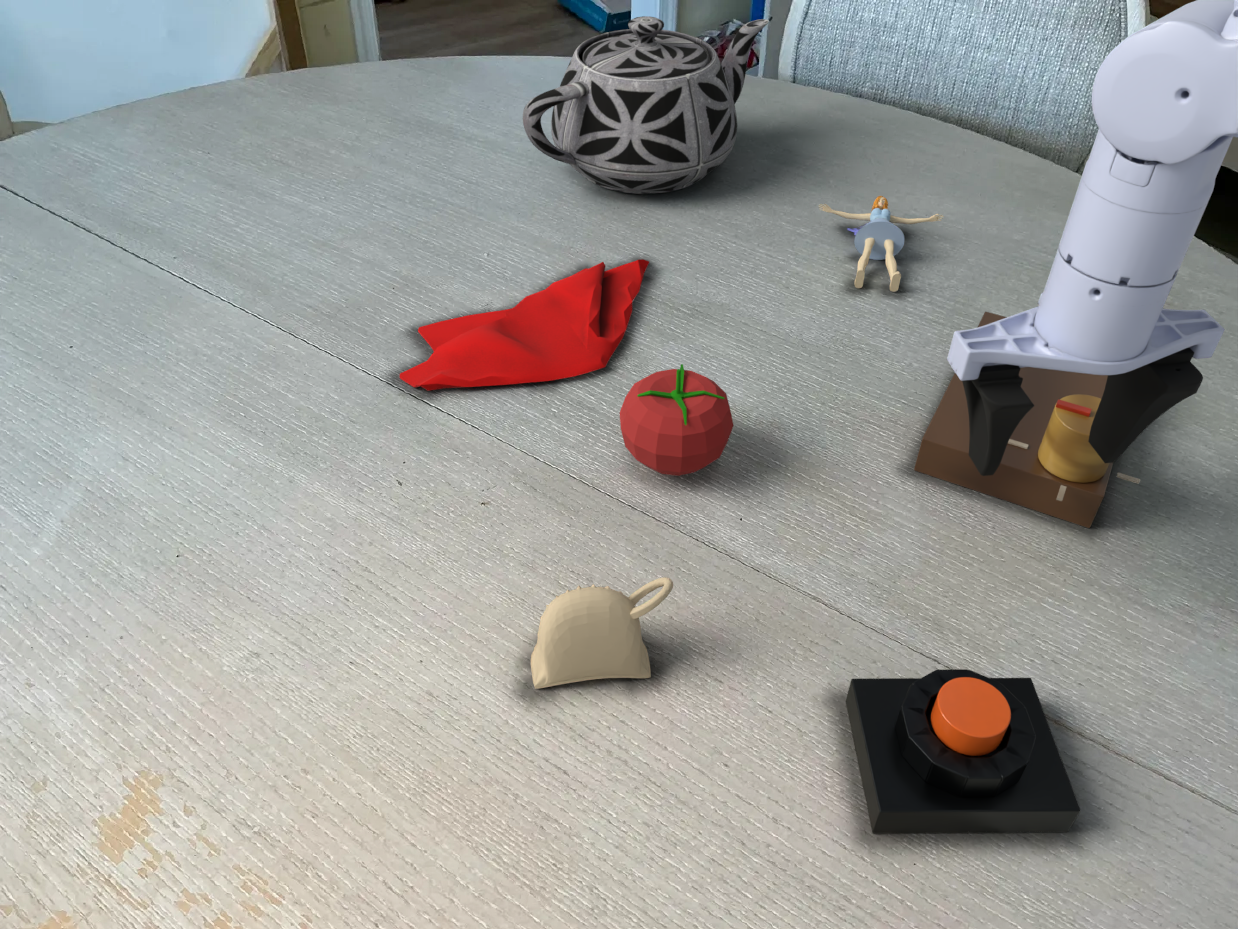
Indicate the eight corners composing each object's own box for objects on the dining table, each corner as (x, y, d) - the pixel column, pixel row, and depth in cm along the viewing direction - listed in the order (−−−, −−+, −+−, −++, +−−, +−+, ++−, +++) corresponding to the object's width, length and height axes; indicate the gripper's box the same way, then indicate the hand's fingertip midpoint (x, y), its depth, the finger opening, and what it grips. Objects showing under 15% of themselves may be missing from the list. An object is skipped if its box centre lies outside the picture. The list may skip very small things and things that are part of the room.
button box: (1020, 700, 57) (1040, 657, 55) (1068, 833, 51) (1093, 791, 49) (845, 701, 57) (856, 658, 55) (872, 834, 51) (886, 793, 49)
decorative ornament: (529, 633, 61) (524, 574, 57) (667, 623, 61) (670, 564, 58) (531, 689, 58) (526, 630, 54) (676, 678, 58) (680, 619, 55)
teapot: (817, 157, 109) (838, 12, 99) (586, 244, 95) (582, 85, 85) (701, 100, 120) (710, -36, 110) (480, 170, 106) (466, 22, 96)
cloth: (446, 434, 75) (442, 409, 73) (370, 343, 83) (366, 320, 81) (723, 323, 85) (725, 300, 84) (632, 253, 94) (632, 231, 92)
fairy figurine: (815, 251, 87) (822, 174, 95) (808, 295, 91) (815, 217, 99) (952, 264, 86) (947, 185, 94) (939, 308, 89) (936, 228, 97)
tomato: (734, 429, 75) (743, 345, 70) (724, 502, 69) (733, 415, 64) (628, 417, 76) (629, 333, 71) (609, 488, 70) (609, 402, 65)
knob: (1111, 452, 69) (1133, 402, 66) (1100, 491, 66) (1122, 441, 63) (1044, 432, 70) (1063, 382, 67) (1031, 469, 67) (1049, 419, 64)
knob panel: (1154, 391, 79) (1169, 358, 77) (1113, 555, 66) (1130, 521, 64) (976, 341, 84) (985, 309, 81) (906, 485, 71) (915, 451, 68)
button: (991, 696, 53) (999, 676, 52) (1011, 756, 51) (1020, 736, 50) (923, 696, 53) (930, 676, 52) (939, 756, 51) (947, 737, 49)
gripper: (1204, 209, 55) (1120, 405, 64) (950, 228, 53) (901, 426, 62) (1287, 278, 50) (1182, 480, 59) (1008, 301, 48) (945, 506, 57)
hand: (1041, 458), depth 60 cm, fingers open, 7 cm apart
